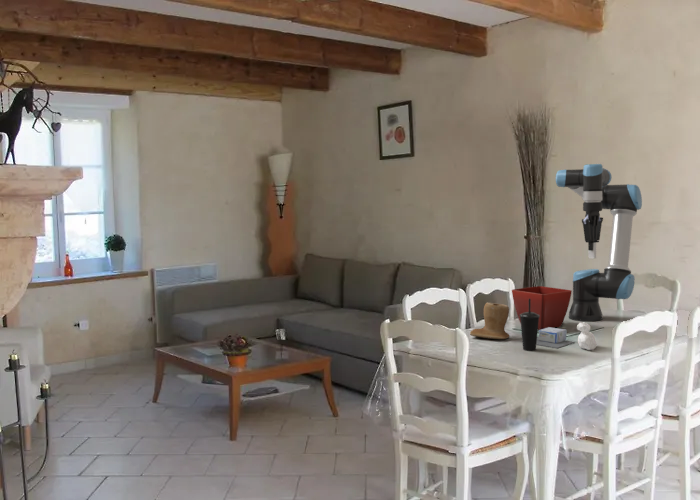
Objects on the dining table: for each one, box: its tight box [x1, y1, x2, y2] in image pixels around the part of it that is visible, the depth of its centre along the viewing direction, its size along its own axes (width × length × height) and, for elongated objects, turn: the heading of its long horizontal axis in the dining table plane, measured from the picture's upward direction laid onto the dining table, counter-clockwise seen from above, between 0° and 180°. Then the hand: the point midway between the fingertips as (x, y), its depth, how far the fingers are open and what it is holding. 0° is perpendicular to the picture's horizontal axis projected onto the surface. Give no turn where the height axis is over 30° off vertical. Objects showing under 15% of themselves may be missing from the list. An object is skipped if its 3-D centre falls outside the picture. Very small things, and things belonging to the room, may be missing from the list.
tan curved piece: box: [469, 302, 510, 340], centre depth 290 cm, size 15×12×15 cm
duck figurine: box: [576, 321, 598, 351], centre depth 269 cm, size 12×8×11 cm
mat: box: [536, 335, 576, 349], centre depth 280 cm, size 13×16×1 cm
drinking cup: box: [519, 299, 540, 352], centre depth 269 cm, size 8×8×20 cm
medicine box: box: [538, 327, 567, 343], centre depth 282 cm, size 8×4×9 cm
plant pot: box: [511, 285, 573, 331], centre depth 310 cm, size 19×19×17 cm
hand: (592, 258), depth 288 cm, fingers closed
